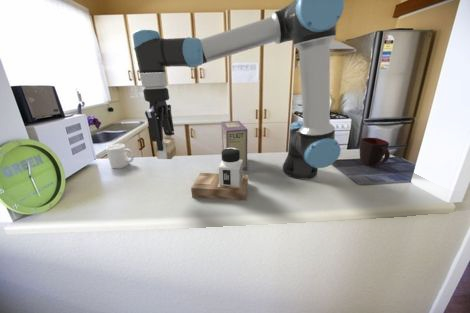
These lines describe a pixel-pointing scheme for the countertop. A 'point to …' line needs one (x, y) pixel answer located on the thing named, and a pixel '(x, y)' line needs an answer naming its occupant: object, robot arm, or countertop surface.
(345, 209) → the countertop surface
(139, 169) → the countertop surface
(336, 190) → the countertop surface
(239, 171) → the container
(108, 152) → the cup
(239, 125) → the box
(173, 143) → the oak cube
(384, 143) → the mug
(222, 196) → the base board
